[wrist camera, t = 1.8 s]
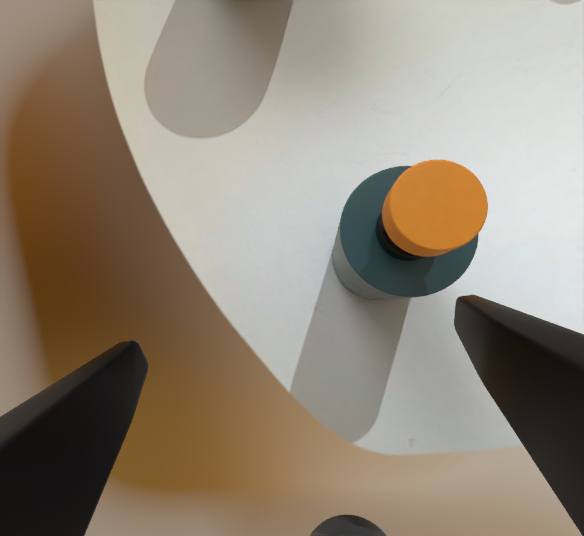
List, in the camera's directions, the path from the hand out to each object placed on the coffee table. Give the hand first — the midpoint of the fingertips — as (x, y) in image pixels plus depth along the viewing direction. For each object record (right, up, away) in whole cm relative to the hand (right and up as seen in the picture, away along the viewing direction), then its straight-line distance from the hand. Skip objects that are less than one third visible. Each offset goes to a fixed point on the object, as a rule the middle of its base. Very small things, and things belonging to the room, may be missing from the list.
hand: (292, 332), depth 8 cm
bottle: (+7, +3, +16) cm, 18 cm away
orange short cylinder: (+6, +4, +5) cm, 9 cm away
